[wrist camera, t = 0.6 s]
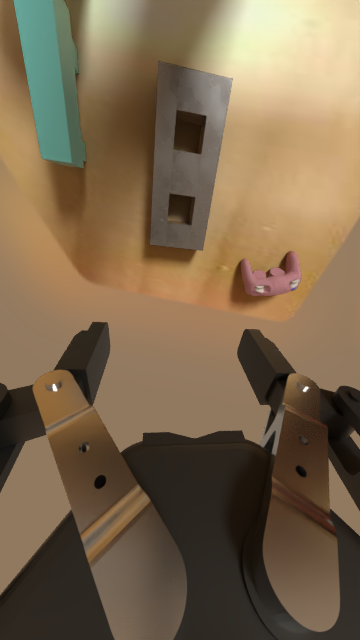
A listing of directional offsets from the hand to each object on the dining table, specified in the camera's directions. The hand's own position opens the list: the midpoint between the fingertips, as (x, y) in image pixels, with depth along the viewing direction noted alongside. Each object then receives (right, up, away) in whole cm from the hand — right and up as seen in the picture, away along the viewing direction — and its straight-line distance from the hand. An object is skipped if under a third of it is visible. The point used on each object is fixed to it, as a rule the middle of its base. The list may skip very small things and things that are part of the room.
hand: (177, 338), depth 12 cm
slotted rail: (0, +21, +17) cm, 27 cm away
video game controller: (+16, +10, +25) cm, 31 cm away
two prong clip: (-13, +27, +12) cm, 32 cm away
